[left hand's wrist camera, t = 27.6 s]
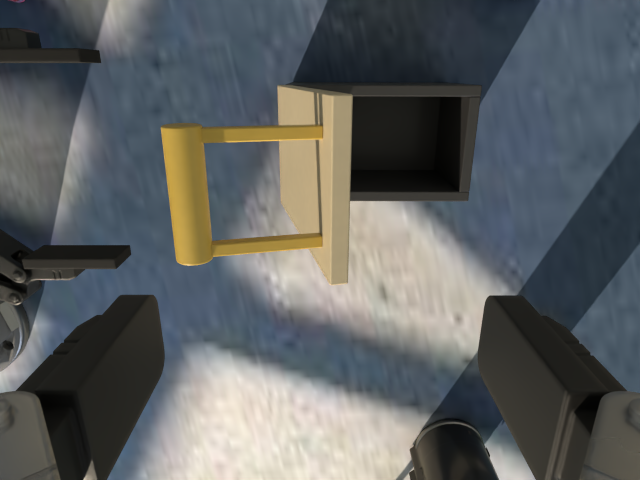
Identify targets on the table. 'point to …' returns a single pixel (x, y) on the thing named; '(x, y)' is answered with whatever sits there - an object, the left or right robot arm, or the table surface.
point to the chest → (410, 139)
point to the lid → (295, 180)
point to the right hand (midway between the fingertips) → (108, 164)
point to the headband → (17, 1)
